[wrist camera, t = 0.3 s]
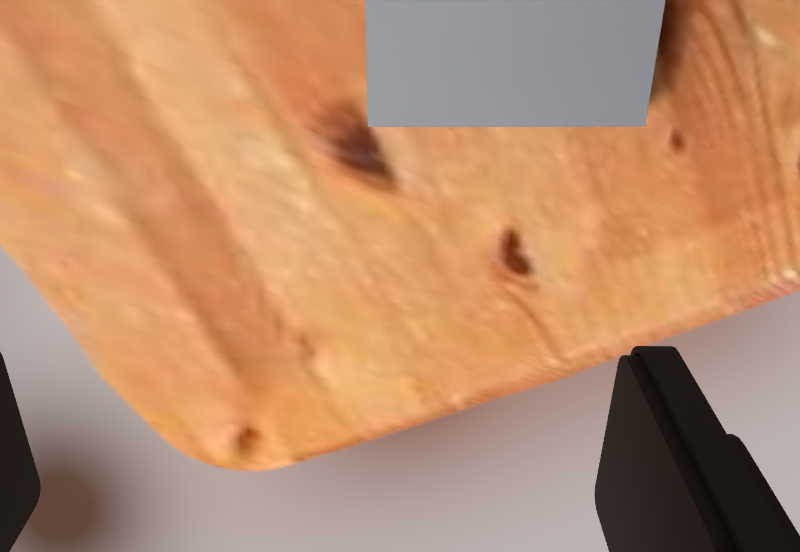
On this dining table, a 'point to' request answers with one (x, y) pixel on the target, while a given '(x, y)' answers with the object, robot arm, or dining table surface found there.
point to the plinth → (510, 62)
